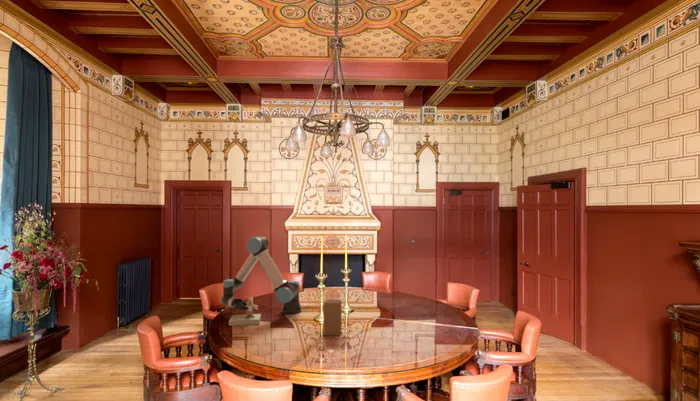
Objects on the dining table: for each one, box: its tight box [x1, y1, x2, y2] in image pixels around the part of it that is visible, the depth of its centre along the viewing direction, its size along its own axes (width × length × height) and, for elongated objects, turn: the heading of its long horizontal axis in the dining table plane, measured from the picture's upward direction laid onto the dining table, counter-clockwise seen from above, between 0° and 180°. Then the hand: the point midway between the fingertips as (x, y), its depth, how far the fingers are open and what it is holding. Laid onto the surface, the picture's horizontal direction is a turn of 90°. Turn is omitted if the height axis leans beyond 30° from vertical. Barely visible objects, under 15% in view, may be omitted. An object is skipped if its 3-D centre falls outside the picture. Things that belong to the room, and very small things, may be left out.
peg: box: [246, 297, 254, 318], centre depth 247 cm, size 4×4×15 cm
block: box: [323, 298, 342, 337], centre depth 222 cm, size 10×10×20 cm
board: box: [228, 313, 262, 327], centre depth 246 cm, size 20×14×3 cm
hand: (254, 308), depth 243 cm, fingers closed on peg, 4 cm apart
